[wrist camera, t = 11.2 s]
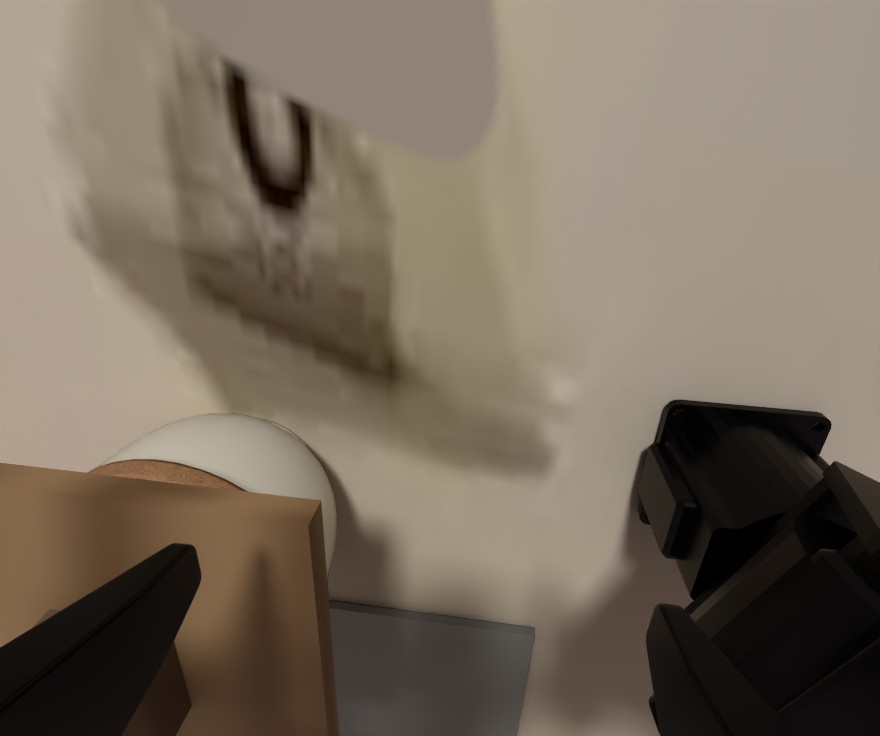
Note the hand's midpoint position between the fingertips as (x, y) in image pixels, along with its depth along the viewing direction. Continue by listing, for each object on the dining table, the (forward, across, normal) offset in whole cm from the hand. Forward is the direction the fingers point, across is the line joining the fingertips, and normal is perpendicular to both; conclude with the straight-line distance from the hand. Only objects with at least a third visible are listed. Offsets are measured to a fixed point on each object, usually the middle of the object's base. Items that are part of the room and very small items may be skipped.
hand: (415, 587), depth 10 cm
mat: (+13, +5, +24) cm, 28 cm away
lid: (+4, +10, +8) cm, 13 cm away
